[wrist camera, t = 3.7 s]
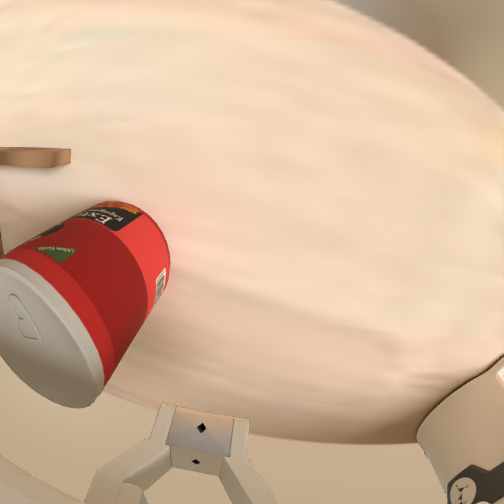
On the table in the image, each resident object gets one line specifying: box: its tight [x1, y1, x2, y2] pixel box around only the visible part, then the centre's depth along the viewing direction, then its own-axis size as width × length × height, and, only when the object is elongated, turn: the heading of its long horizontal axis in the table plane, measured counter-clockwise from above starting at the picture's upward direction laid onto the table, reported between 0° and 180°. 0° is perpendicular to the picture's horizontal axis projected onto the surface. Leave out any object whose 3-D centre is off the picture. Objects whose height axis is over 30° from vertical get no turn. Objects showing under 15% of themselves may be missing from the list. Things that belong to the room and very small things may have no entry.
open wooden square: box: [0, 147, 71, 258], centre depth 19 cm, size 10×14×2 cm
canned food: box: [0, 202, 170, 408], centre depth 15 cm, size 8×8×11 cm
